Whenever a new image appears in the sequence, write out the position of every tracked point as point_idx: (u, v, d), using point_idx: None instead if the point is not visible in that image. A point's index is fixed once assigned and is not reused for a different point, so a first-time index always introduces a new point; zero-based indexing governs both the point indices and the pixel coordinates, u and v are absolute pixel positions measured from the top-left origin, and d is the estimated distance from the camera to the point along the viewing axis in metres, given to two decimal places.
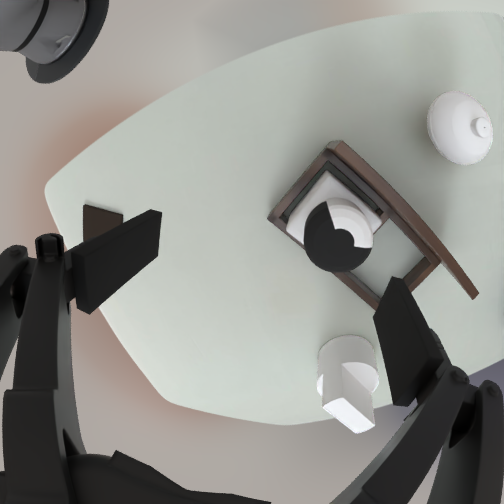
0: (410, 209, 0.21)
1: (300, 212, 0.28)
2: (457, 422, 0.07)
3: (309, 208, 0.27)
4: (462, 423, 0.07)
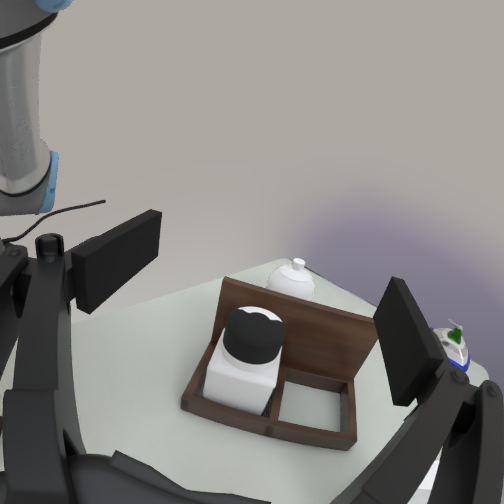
0: (289, 295, 0.33)
1: (214, 352, 0.29)
2: (457, 421, 0.07)
3: (220, 346, 0.30)
4: (462, 423, 0.07)
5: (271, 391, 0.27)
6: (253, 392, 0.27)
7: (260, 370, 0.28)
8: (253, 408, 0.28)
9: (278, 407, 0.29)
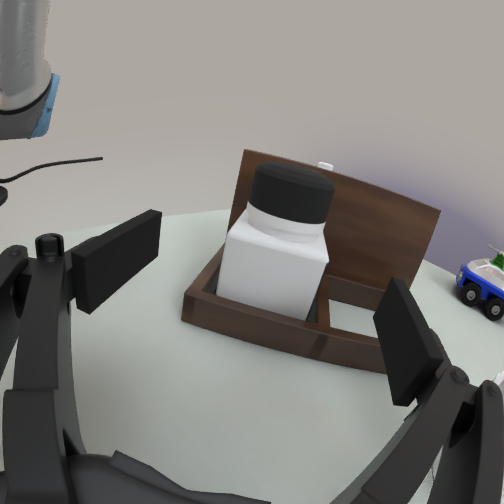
0: (326, 169, 0.26)
1: (235, 223, 0.21)
2: (457, 421, 0.07)
3: (243, 218, 0.22)
4: (462, 423, 0.07)
5: (322, 271, 0.19)
6: (294, 276, 0.20)
7: (304, 240, 0.20)
8: (293, 312, 0.21)
9: (327, 312, 0.21)
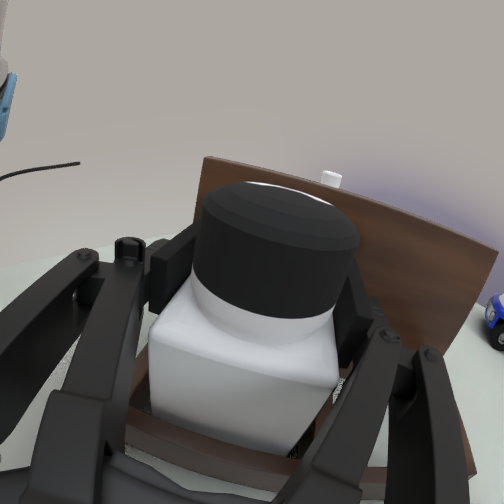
0: (338, 188, 0.16)
1: (172, 298, 0.12)
2: (394, 385, 0.09)
3: (189, 286, 0.12)
4: (400, 388, 0.09)
5: (325, 398, 0.09)
6: (274, 403, 0.10)
7: (295, 341, 0.10)
8: (272, 441, 0.11)
9: None
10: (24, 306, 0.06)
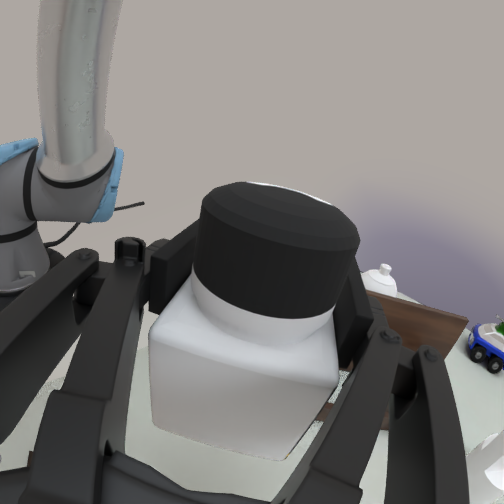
0: (399, 299, 0.33)
1: (173, 298, 0.12)
2: (394, 385, 0.09)
3: (189, 286, 0.12)
4: (400, 387, 0.09)
5: (326, 398, 0.09)
6: (274, 403, 0.10)
7: (295, 341, 0.10)
8: (273, 441, 0.11)
9: None
10: (24, 306, 0.06)
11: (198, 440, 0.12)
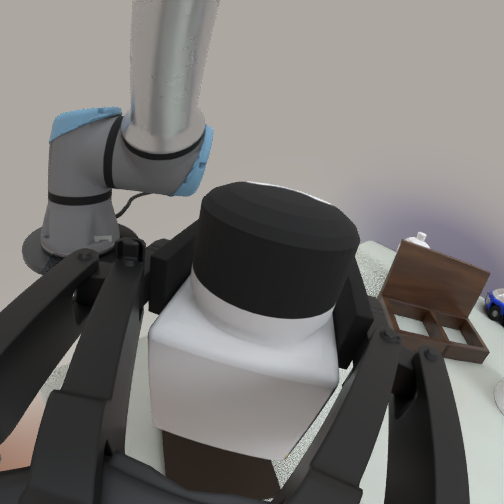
0: None
1: (172, 298, 0.12)
2: (394, 385, 0.09)
3: (189, 286, 0.12)
4: (400, 388, 0.09)
5: (325, 398, 0.09)
6: (274, 403, 0.10)
7: (295, 341, 0.10)
8: (273, 441, 0.11)
9: (445, 333, 0.35)
10: (24, 306, 0.06)
11: (198, 440, 0.12)
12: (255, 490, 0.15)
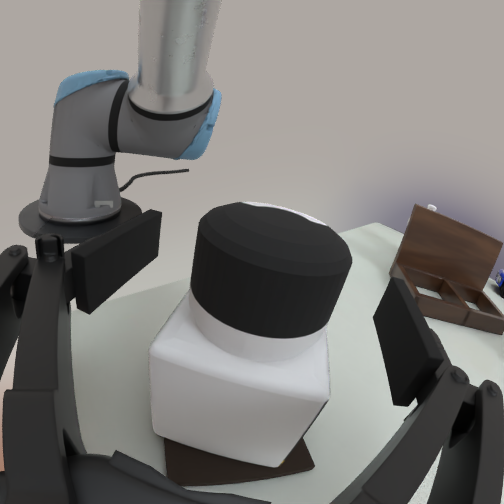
0: (453, 219, 0.37)
1: (171, 314, 0.12)
2: (457, 421, 0.07)
3: (188, 302, 0.13)
4: (462, 423, 0.07)
5: (317, 411, 0.10)
6: (268, 415, 0.10)
7: (288, 357, 0.11)
8: (268, 449, 0.11)
9: (464, 301, 0.33)
10: None
11: (197, 447, 0.12)
12: None
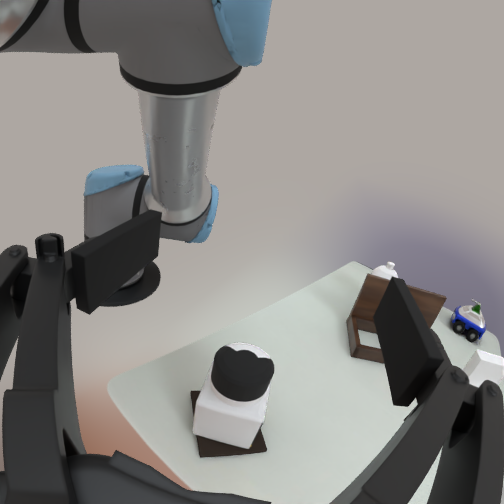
0: None
1: (203, 387, 0.28)
2: (457, 422, 0.07)
3: (209, 381, 0.29)
4: (462, 423, 0.07)
5: (259, 425, 0.26)
6: (241, 426, 0.26)
7: (248, 405, 0.26)
8: (243, 439, 0.27)
9: None
10: None
11: (212, 439, 0.28)
12: None
